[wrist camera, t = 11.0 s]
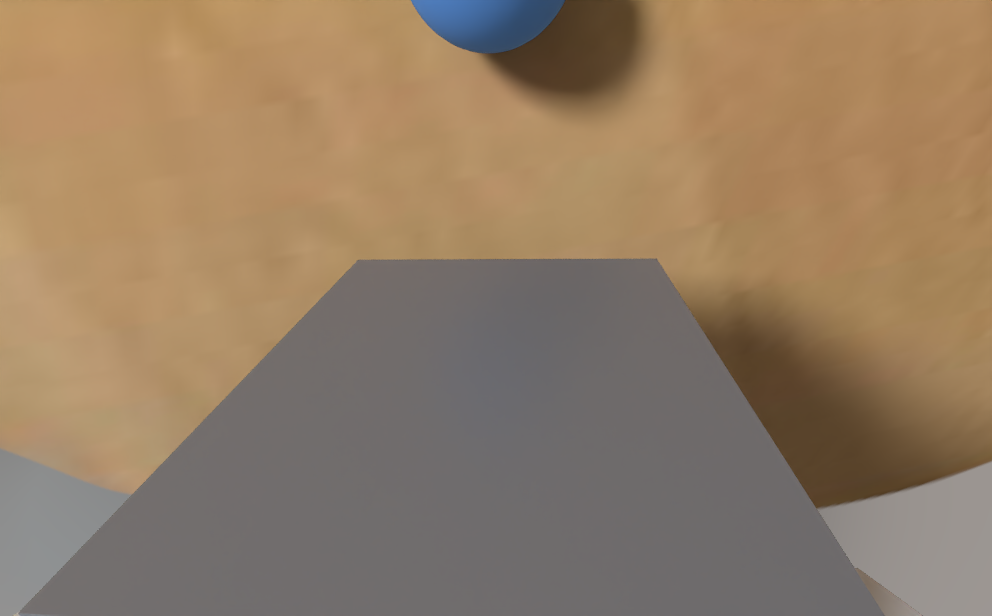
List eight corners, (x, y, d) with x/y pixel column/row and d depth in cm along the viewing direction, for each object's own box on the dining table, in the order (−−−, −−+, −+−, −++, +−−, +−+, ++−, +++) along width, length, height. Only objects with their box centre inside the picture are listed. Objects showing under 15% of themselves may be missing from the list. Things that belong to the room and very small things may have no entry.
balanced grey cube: (656, 259, 12) (915, 665, 4) (631, 490, 15) (745, 997, 7) (358, 259, 12) (18, 613, 4) (392, 482, 15) (228, 941, 7)
